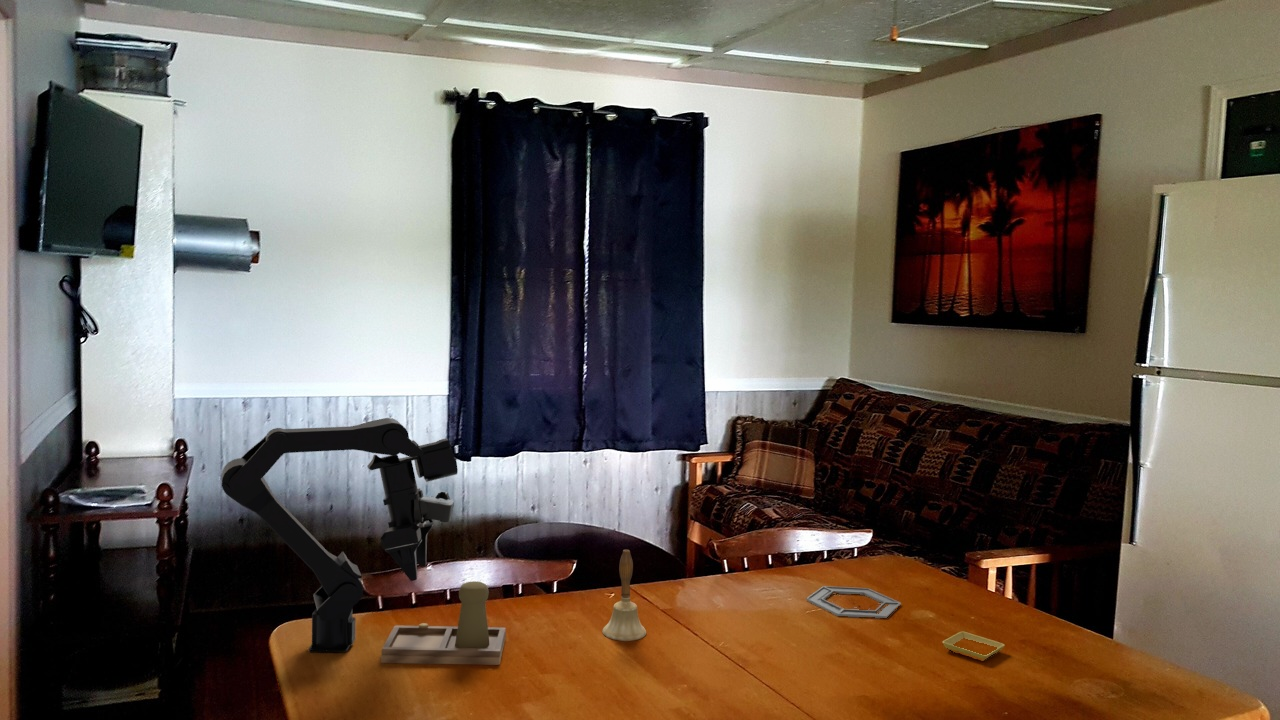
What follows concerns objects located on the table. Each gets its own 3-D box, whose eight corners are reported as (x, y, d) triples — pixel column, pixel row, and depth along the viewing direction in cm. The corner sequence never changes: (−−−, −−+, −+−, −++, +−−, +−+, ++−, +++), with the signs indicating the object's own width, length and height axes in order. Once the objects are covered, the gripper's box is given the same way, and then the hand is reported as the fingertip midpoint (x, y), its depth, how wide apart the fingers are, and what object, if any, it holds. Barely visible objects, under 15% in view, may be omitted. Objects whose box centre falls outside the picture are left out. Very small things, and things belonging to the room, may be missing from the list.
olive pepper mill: (486, 651, 165) (488, 589, 164) (451, 650, 165) (453, 588, 164) (492, 638, 171) (493, 578, 170) (458, 637, 171) (460, 577, 170)
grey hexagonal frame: (911, 621, 193) (911, 617, 193) (812, 616, 193) (812, 612, 193) (890, 593, 210) (891, 589, 210) (800, 588, 211) (800, 585, 211)
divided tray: (380, 662, 161) (381, 647, 161) (395, 636, 173) (395, 622, 173) (499, 664, 162) (499, 650, 162) (505, 638, 174) (505, 624, 174)
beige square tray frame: (1005, 654, 178) (1006, 643, 177) (985, 666, 171) (986, 655, 171) (961, 641, 184) (962, 630, 183) (940, 652, 177) (941, 641, 177)
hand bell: (628, 644, 174) (631, 559, 172) (593, 633, 179) (596, 550, 177) (655, 632, 180) (658, 550, 179) (620, 621, 185) (624, 541, 184)
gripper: (437, 489, 160) (455, 578, 161) (452, 470, 179) (469, 550, 180) (371, 502, 160) (390, 592, 161) (394, 482, 179) (411, 562, 180)
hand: (418, 573), depth 170 cm, fingers open, 9 cm apart
